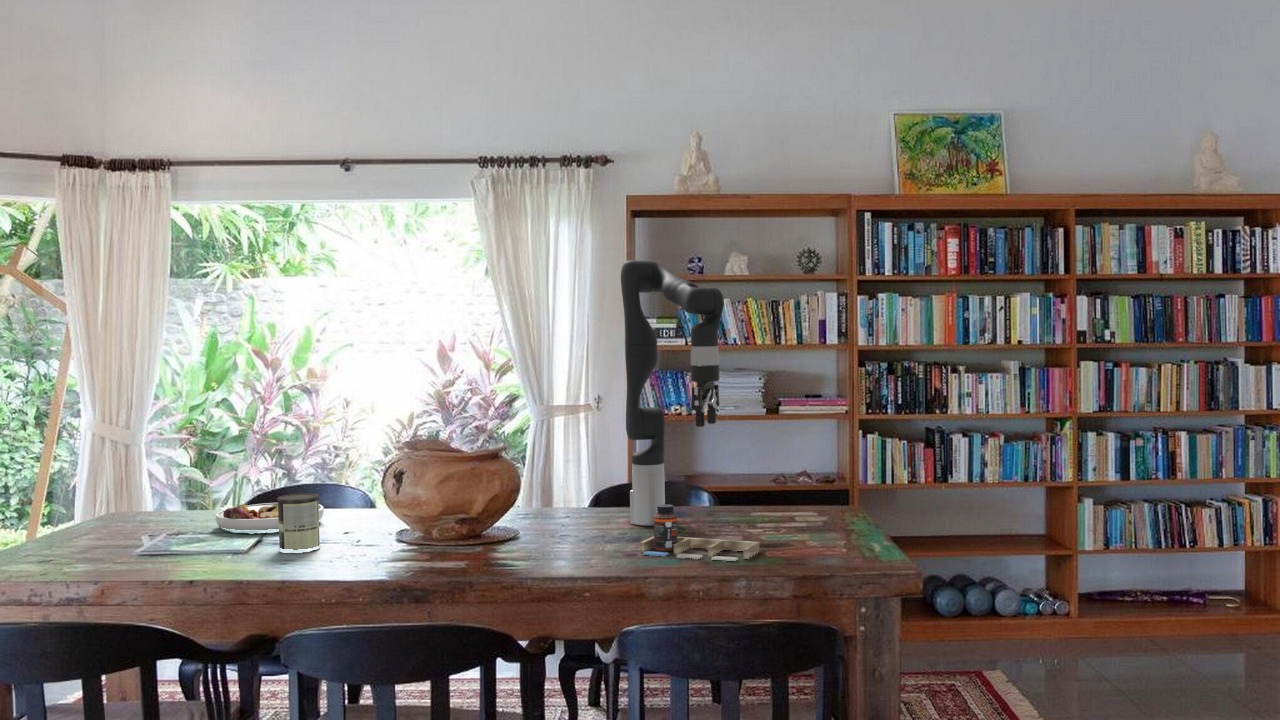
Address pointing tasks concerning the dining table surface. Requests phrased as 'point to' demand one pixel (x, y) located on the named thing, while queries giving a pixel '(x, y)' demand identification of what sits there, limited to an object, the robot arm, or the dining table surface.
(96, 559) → the dining table surface
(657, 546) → the supplement bottle
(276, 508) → the bowl
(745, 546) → the divider rack
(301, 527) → the coffee can
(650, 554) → the bezel tiles
